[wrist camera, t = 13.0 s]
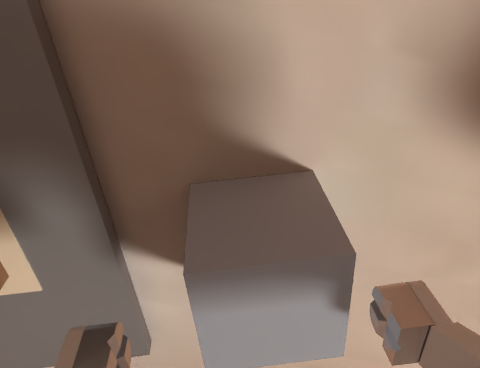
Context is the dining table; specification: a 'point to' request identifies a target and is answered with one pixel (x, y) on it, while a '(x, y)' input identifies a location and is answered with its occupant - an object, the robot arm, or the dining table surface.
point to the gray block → (267, 271)
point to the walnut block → (3, 275)
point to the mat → (51, 208)
